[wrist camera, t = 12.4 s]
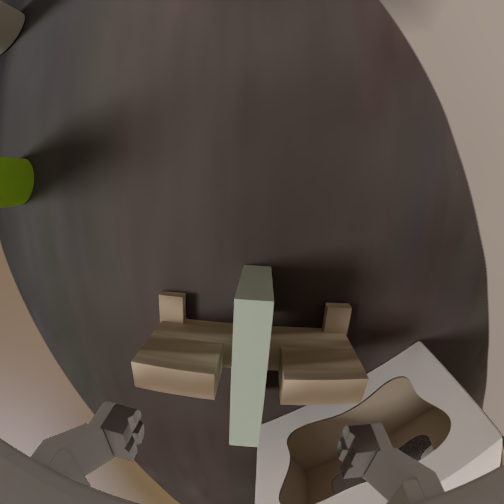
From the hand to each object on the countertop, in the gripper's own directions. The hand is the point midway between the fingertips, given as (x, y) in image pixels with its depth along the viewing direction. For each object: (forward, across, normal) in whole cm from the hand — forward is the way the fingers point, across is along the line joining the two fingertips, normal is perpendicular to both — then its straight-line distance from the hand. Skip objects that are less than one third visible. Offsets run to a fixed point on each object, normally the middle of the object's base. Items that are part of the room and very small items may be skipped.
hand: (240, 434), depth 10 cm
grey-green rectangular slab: (+18, 0, +5) cm, 19 cm away
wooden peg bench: (+18, 0, +5) cm, 19 cm away
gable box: (+18, -14, +17) cm, 29 cm away
